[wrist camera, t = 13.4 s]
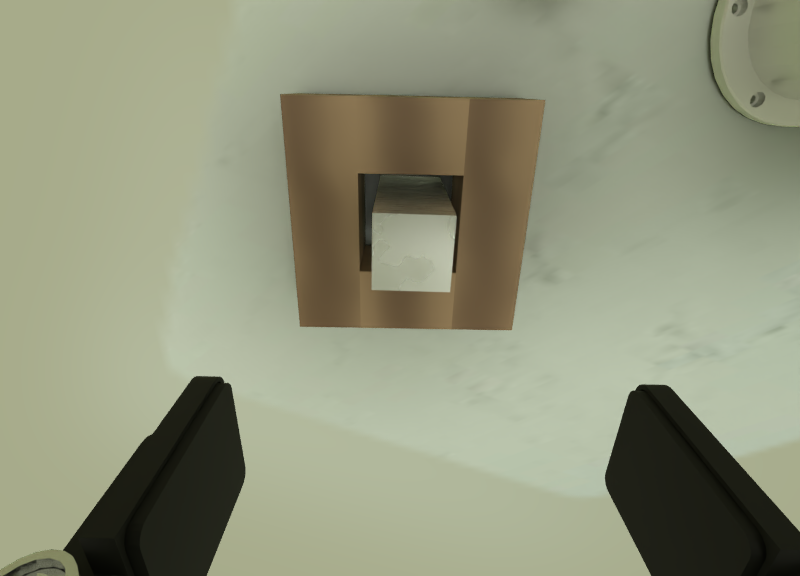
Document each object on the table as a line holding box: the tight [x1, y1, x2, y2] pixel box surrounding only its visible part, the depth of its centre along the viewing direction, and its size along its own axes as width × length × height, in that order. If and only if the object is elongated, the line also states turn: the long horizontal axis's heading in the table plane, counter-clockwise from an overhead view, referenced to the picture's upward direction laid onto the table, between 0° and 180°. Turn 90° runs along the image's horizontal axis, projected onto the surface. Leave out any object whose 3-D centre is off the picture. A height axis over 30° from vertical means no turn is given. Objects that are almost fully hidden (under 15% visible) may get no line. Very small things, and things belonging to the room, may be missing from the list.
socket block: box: [280, 93, 545, 330], centre depth 28 cm, size 14×14×5 cm
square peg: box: [372, 175, 457, 292], centre depth 26 cm, size 4×4×10 cm
